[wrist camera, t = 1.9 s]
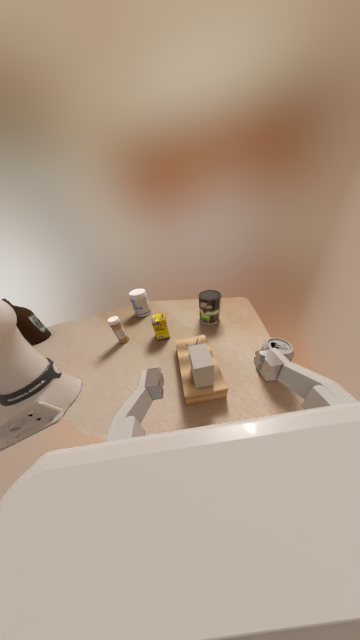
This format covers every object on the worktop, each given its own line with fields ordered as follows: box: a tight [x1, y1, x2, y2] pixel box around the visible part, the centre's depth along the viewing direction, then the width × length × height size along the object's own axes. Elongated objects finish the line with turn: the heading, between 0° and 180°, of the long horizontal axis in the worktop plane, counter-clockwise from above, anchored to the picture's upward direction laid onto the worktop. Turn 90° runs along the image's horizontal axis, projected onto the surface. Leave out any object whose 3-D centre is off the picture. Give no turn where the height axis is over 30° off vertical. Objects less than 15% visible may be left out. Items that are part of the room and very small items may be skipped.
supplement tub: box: [129, 289, 151, 317], centre depth 79 cm, size 10×10×15 cm
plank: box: [175, 335, 228, 405], centre depth 46 cm, size 22×12×5 cm, turn 8°
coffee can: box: [199, 290, 221, 325], centre depth 65 cm, size 10×10×14 cm
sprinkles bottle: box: [108, 316, 129, 344], centre depth 60 cm, size 5×5×14 cm
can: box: [257, 338, 294, 373], centre depth 40 cm, size 8×8×12 cm
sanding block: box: [188, 343, 215, 389], centre depth 36 cm, size 7×5×10 cm
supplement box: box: [152, 313, 170, 341], centre depth 60 cm, size 6×6×11 cm
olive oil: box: [1, 299, 51, 344], centre depth 68 cm, size 11×11×25 cm
